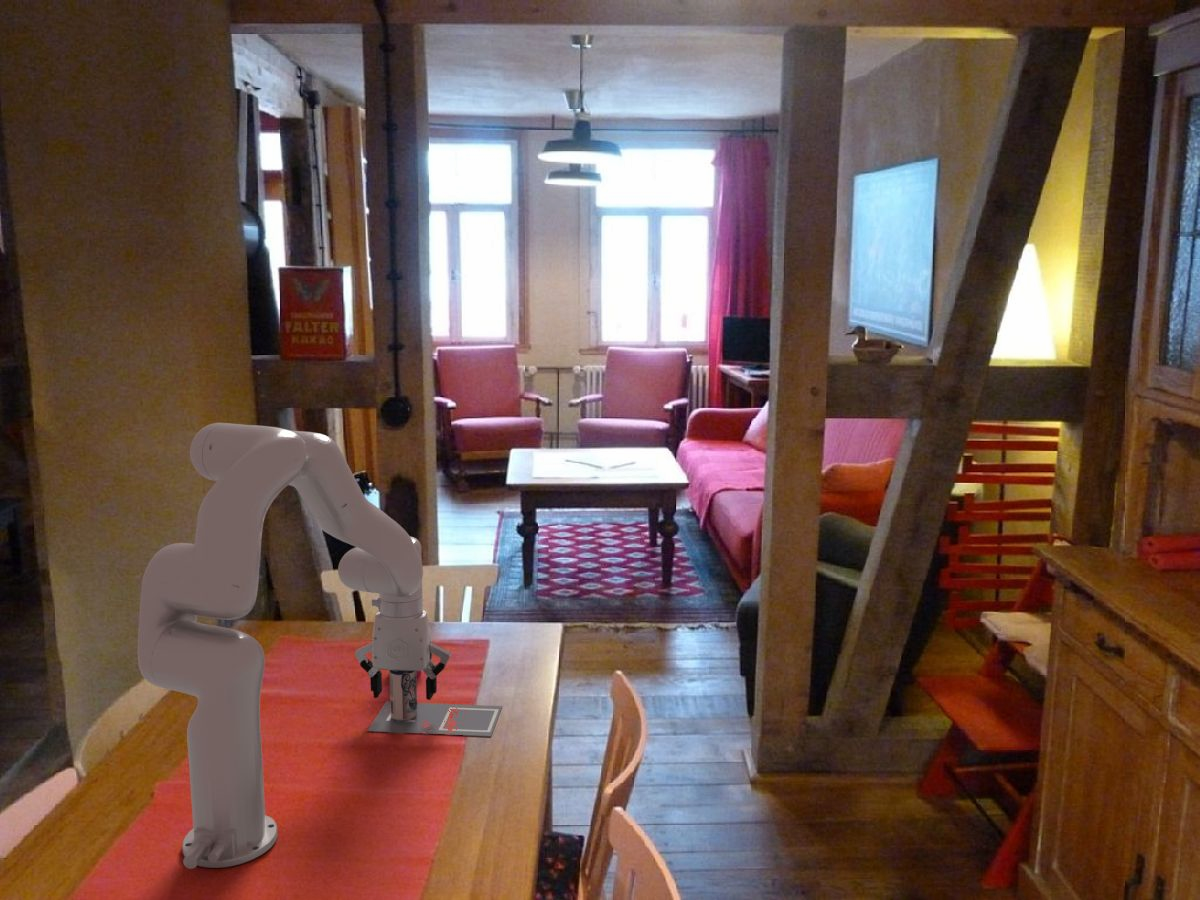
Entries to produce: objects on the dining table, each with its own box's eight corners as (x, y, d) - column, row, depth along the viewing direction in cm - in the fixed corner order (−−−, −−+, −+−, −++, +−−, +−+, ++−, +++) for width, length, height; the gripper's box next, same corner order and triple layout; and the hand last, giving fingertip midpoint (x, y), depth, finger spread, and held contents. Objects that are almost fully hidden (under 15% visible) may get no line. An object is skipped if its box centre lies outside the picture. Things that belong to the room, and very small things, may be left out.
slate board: (490, 737, 171) (490, 735, 171) (367, 731, 173) (367, 730, 172) (502, 707, 183) (502, 706, 183) (386, 702, 184) (386, 701, 184)
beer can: (411, 723, 175) (409, 660, 173) (386, 721, 176) (384, 658, 174) (421, 712, 180) (420, 650, 178) (396, 709, 181) (395, 648, 179)
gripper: (347, 611, 171) (350, 703, 174) (444, 614, 170) (446, 706, 173) (360, 597, 179) (363, 685, 182) (453, 600, 177) (455, 688, 181)
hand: (404, 695), depth 178 cm, fingers open, 9 cm apart
